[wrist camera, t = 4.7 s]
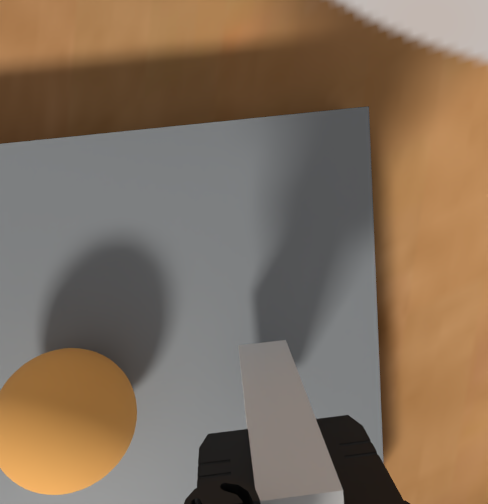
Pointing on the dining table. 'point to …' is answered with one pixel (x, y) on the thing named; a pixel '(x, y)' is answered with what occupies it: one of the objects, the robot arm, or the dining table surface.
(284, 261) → the plate
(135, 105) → the dining table surface
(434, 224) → the dining table surface
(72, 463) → the ball
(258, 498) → the robot arm
